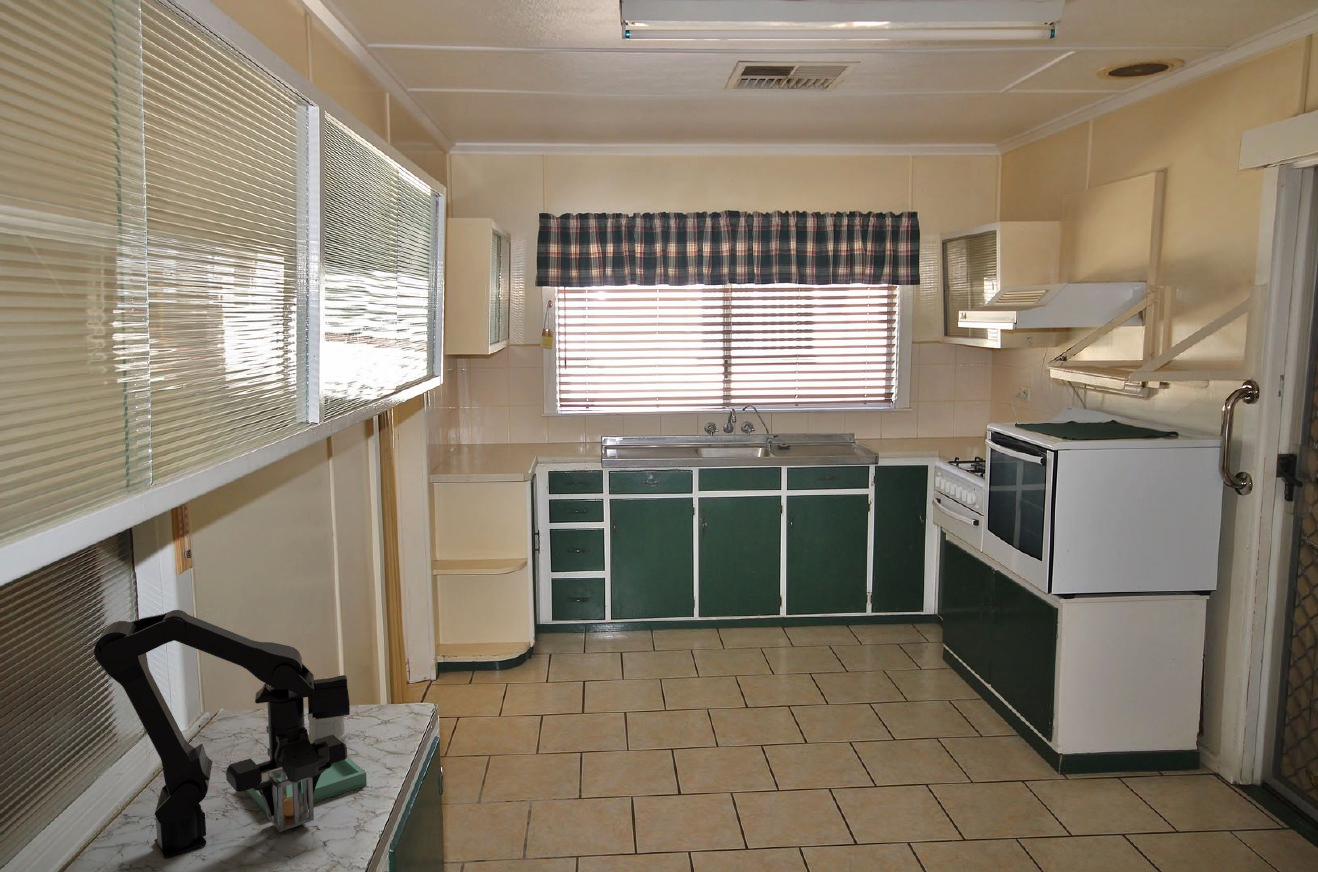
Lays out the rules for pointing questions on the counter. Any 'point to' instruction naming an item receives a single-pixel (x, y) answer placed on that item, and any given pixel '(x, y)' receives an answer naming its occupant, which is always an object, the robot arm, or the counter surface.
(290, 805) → the ball
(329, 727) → the mug
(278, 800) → the cage
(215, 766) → the counter surface
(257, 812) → the counter surface
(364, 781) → the tray
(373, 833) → the counter surface
